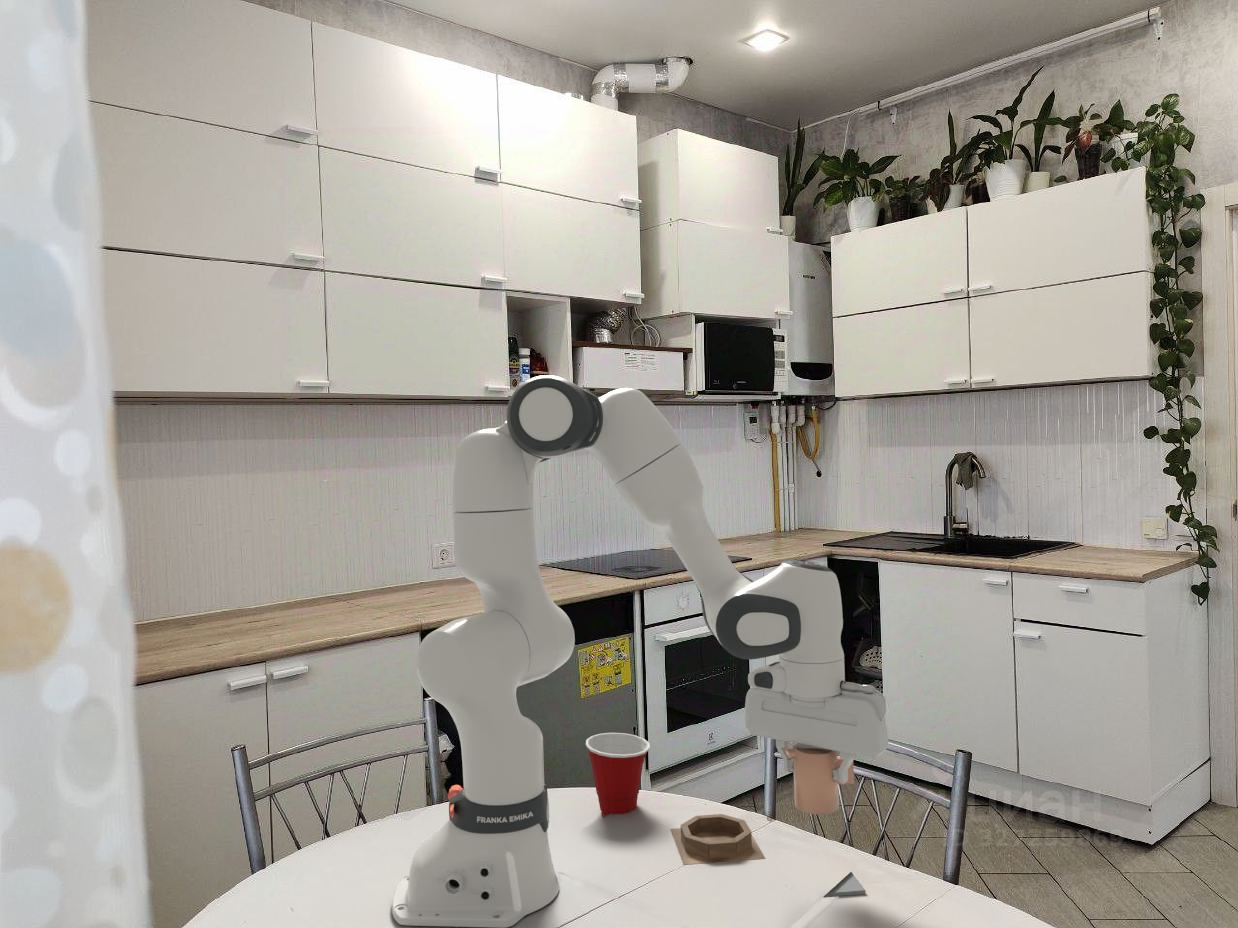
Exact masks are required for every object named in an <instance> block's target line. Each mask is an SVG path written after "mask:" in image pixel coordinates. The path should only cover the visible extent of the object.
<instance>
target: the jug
mask: <svg viewBox="0 0 1238 928" xmlns="http://www.w3.org/2000/svg"><path fill="white" fill-rule="evenodd" d="M786 754H787V755H788V757H793V769H794V773H793V789H794V790H793V792H794V807H795V809H797V810H798V811H800V812H803V813H805V814H810V815H829V814H832V813H833V814H834V813H835V812H837V811H838V810H839V809H840V803H839V802H840V801H839V800H840V799H839V797H840V796H839V795H840V794H839V785H841V786H842V785H851V784H852V785H853V784H855V769H854V760H853V761H852V763H851V765H850V767H849V768H848V781H847V782H846V783H844V784H842V783H838V782H834V781H833V777H834V776H833V769H834V768H836V767H837V766H841V764H842V762H843V760H844V759H840V757H839V755H838V751H834V750H829V749H824V748H819V747H813V746H808V745H803V744H798V743H794V744H793V746H792V748H790V749H786Z"/></svg>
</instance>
